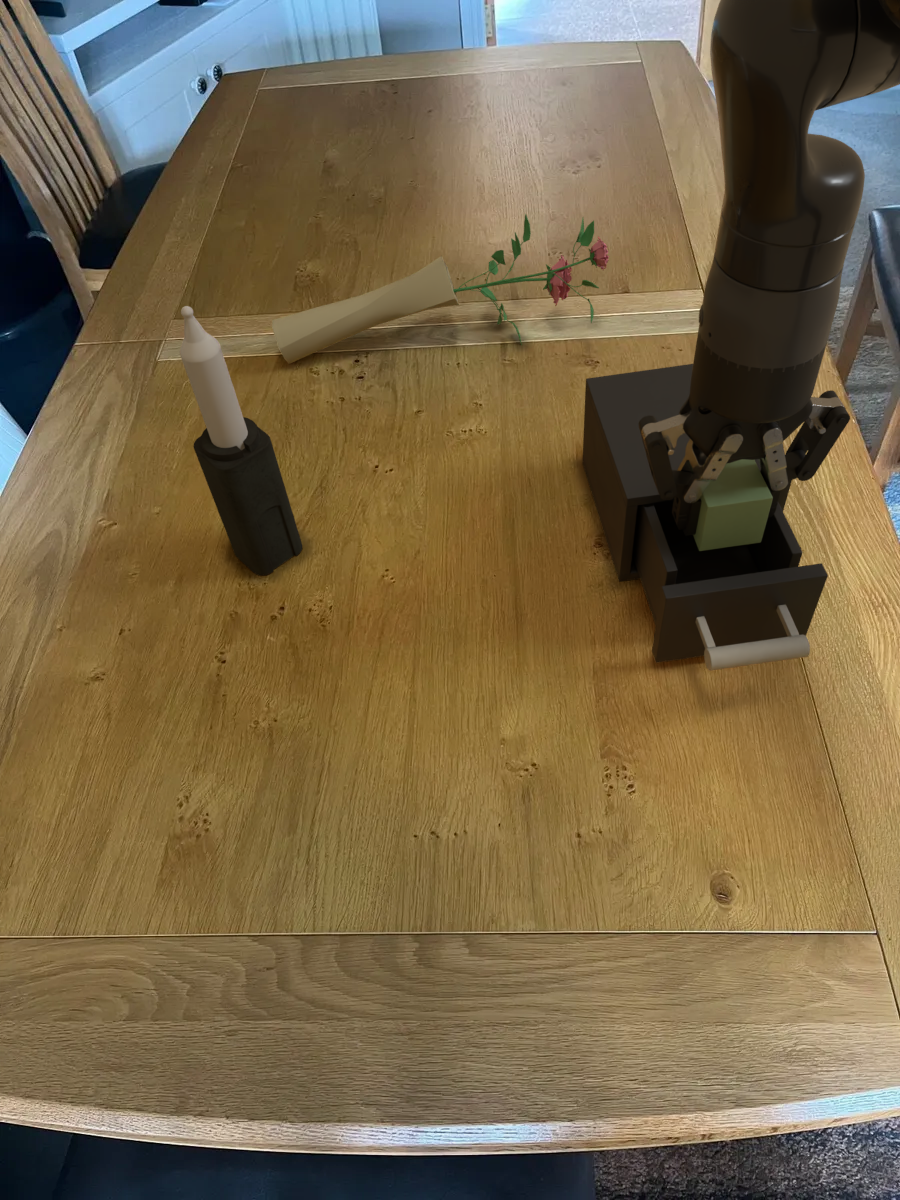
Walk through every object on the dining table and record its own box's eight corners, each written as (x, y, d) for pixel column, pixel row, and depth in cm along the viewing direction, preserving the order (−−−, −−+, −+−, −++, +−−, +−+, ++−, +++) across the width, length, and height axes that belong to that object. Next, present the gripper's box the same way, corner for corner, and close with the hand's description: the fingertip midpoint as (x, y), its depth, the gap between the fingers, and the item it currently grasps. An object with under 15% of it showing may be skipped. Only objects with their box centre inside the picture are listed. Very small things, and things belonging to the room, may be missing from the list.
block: (741, 498, 71) (751, 453, 67) (761, 542, 68) (773, 497, 65) (681, 507, 71) (689, 462, 67) (699, 551, 68) (707, 507, 64)
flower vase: (318, 393, 109) (608, 291, 104) (309, 435, 99) (631, 325, 94) (275, 296, 103) (582, 183, 98) (261, 331, 93) (603, 206, 88)
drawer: (825, 689, 69) (852, 624, 63) (670, 711, 69) (683, 648, 63) (747, 516, 81) (764, 447, 74) (614, 535, 80) (620, 467, 74)
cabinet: (769, 560, 78) (793, 475, 71) (619, 582, 78) (627, 498, 71) (716, 444, 88) (733, 357, 80) (582, 463, 88) (585, 378, 80)
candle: (274, 520, 86) (196, 277, 67) (308, 548, 83) (236, 304, 64) (229, 550, 84) (134, 309, 65) (261, 580, 82) (173, 338, 62)
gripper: (662, 380, 54) (638, 573, 67) (907, 346, 54) (835, 545, 67) (630, 306, 58) (614, 500, 72) (856, 275, 59) (798, 474, 72)
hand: (721, 521), depth 69 cm, fingers closed on block, 4 cm apart
